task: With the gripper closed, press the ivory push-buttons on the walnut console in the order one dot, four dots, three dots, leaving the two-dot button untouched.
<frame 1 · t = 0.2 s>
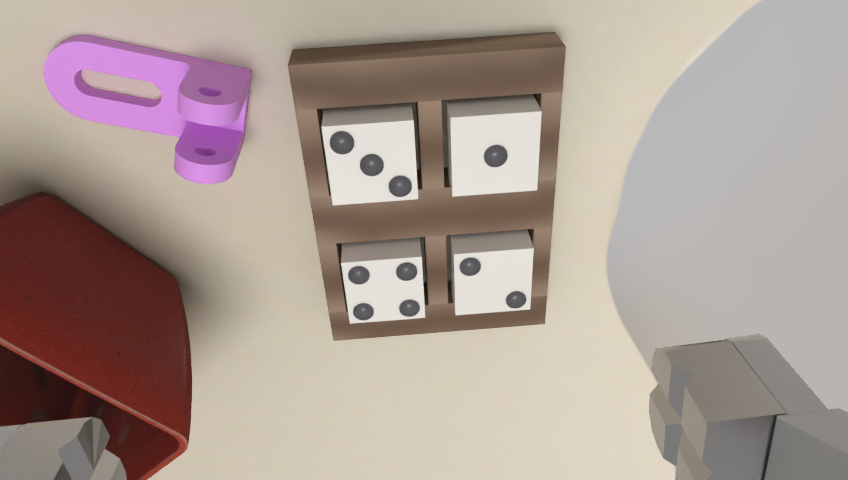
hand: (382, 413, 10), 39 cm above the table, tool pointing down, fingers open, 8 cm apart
button one dot: (492, 145, 47), point 4 cm above the table, slide at 0.0 cm
button three dots: (371, 154, 47), point 3 cm above the table, slide at 0.0 cm
button four dots: (384, 279, 53), point 3 cm above the table, slide at 0.0 cm
button two dots: (490, 271, 53), point 3 cm above the table, slide at 0.0 cm
plant pot: (71, 280, 55), on the table
bracket: (153, 85, 47), on the table
console: (431, 192, 53), on the table
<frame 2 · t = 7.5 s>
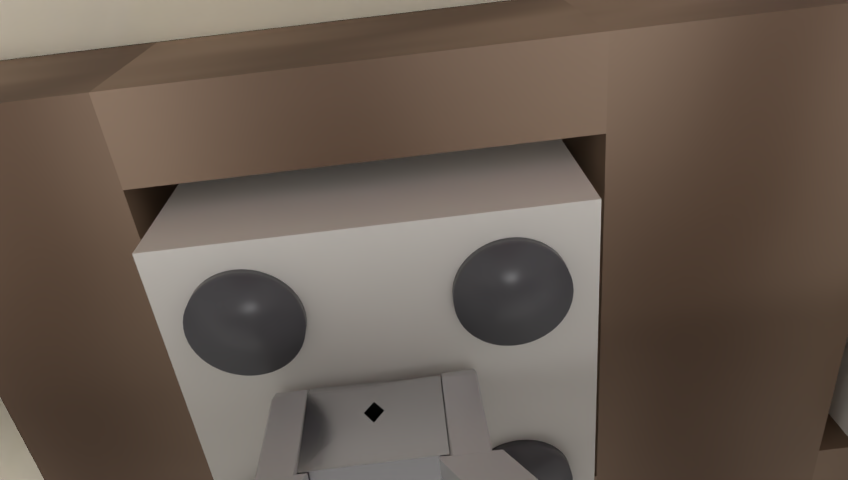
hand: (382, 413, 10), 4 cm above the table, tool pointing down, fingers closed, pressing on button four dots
button four dots: (394, 343, 11), point 3 cm above the table, slide at 0.8 cm, touching gripper
console: (649, 389, 16), on the table
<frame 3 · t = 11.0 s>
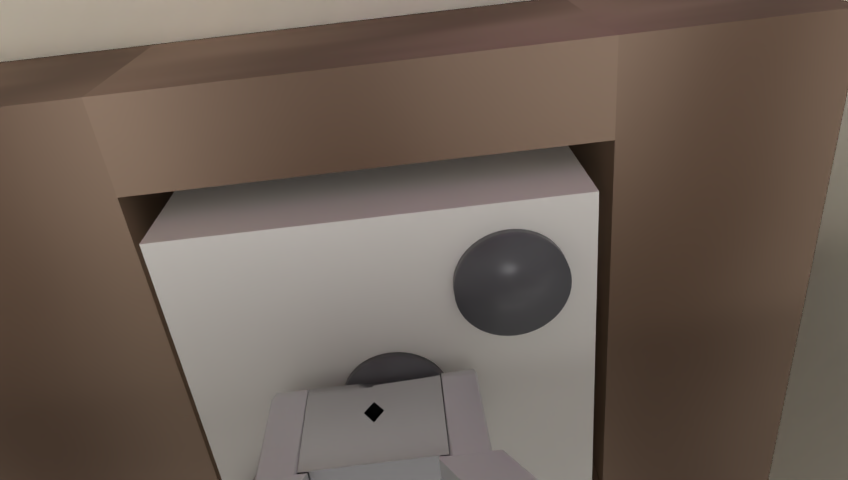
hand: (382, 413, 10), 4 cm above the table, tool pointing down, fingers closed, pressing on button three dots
button three dots: (395, 334, 11), point 2 cm above the table, slide at 1.3 cm, touching gripper
console: (178, 451, 15), on the table
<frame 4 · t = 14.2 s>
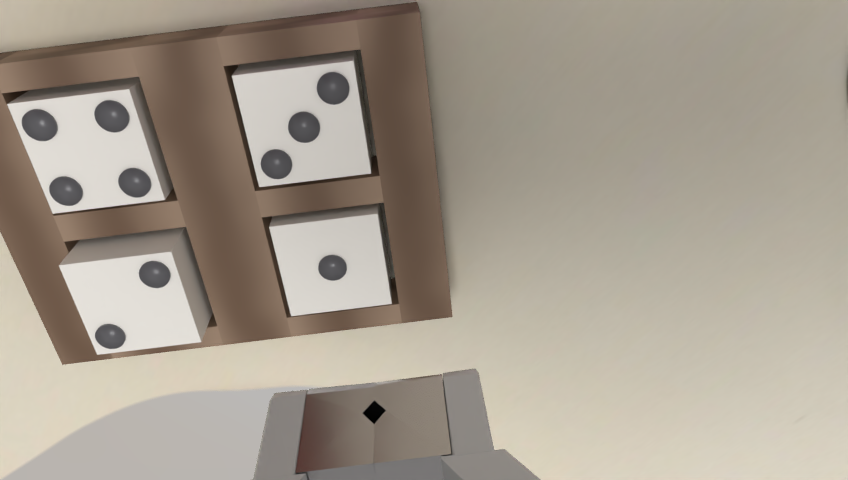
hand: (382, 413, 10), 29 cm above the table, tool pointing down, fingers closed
button one dot: (334, 253, 40), point 2 cm above the table, slide at 1.5 cm
button three dots: (307, 117, 36), point 2 cm above the table, slide at 1.5 cm
button four dots: (100, 143, 35), point 2 cm above the table, slide at 1.4 cm
button two dots: (141, 290, 38), point 4 cm above the table, slide at 0.0 cm
console: (230, 186, 39), on the table
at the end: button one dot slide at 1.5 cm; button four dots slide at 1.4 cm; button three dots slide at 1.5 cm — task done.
